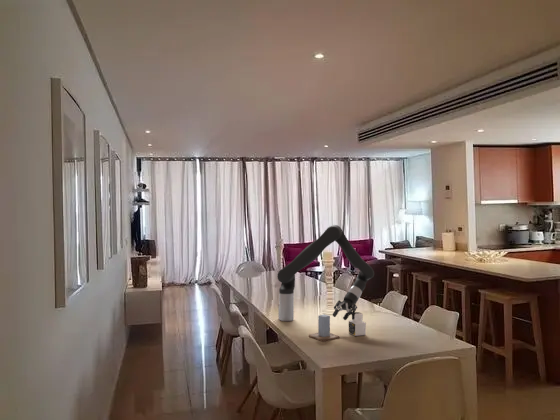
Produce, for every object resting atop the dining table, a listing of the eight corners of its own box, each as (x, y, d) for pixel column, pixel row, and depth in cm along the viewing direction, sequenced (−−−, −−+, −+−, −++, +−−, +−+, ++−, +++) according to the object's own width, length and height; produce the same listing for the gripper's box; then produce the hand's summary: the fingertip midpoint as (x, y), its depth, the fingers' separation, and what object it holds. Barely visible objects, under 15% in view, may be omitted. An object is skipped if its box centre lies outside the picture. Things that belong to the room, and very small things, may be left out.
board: (308, 336, 252) (308, 334, 252) (324, 332, 259) (324, 331, 259) (323, 341, 243) (323, 339, 243) (339, 337, 250) (339, 336, 250)
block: (318, 335, 251) (318, 315, 251) (324, 333, 254) (324, 314, 254) (323, 337, 248) (323, 317, 248) (329, 335, 251) (329, 315, 251)
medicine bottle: (348, 332, 259) (348, 311, 259) (359, 331, 261) (359, 311, 262) (354, 336, 252) (355, 314, 252) (365, 335, 255) (366, 313, 255)
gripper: (341, 289, 269) (326, 311, 262) (358, 293, 257) (344, 316, 251) (347, 297, 272) (333, 319, 265) (365, 301, 261) (351, 324, 254)
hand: (338, 317), depth 258 cm, fingers open, 8 cm apart
